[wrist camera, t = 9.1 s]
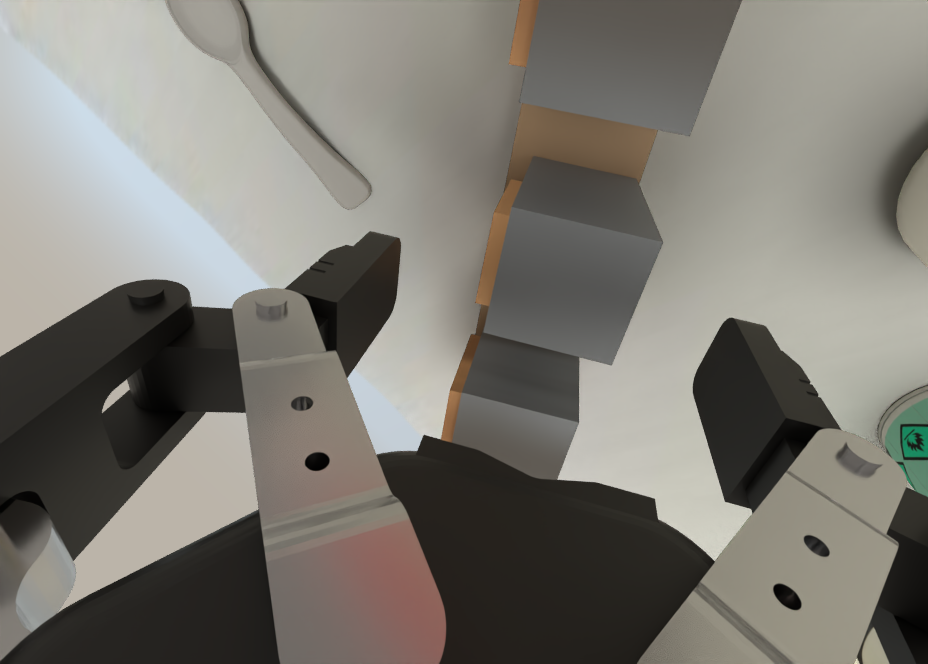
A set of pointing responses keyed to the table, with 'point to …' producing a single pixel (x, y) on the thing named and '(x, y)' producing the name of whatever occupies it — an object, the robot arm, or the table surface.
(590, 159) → the rail
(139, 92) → the table surface
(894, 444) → the spray can
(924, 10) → the table surface
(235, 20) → the spoon
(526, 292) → the grey block
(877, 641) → the dog bowl
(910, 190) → the plastic bottle
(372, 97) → the table surface
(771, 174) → the table surface
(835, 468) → the robot arm
